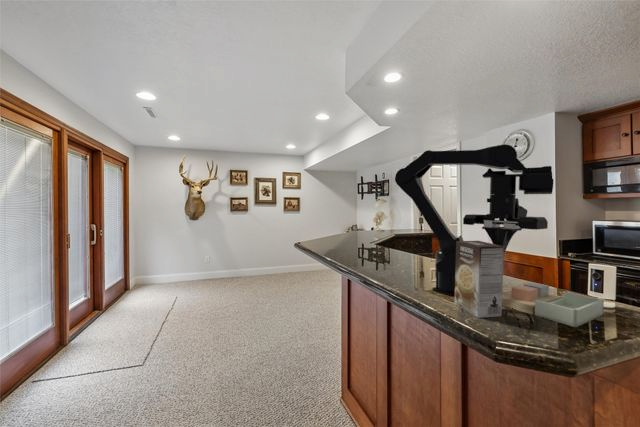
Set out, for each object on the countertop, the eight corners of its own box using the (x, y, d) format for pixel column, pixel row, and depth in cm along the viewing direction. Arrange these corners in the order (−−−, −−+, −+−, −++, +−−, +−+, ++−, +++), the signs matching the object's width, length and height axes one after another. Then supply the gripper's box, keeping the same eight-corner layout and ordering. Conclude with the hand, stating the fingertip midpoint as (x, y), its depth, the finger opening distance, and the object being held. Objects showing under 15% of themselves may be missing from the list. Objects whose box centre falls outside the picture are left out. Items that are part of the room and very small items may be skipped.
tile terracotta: (511, 296, 75) (511, 287, 75) (519, 294, 77) (520, 284, 77) (529, 301, 71) (529, 291, 71) (537, 299, 73) (537, 288, 73)
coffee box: (452, 304, 75) (454, 240, 75) (475, 303, 76) (477, 240, 76) (477, 318, 66) (479, 246, 66) (503, 316, 67) (505, 245, 67)
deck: (493, 303, 76) (493, 295, 76) (522, 294, 83) (522, 287, 83) (532, 314, 69) (533, 306, 68) (561, 304, 76) (561, 296, 75)
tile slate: (523, 293, 78) (523, 284, 78) (531, 291, 80) (531, 282, 80) (540, 298, 74) (540, 288, 74) (548, 295, 76) (548, 285, 76)
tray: (534, 315, 68) (535, 300, 68) (563, 304, 75) (563, 291, 75) (576, 327, 62) (576, 310, 62) (603, 314, 69) (603, 299, 68)
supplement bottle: (459, 281, 97) (460, 244, 96) (437, 280, 98) (437, 244, 98) (454, 276, 103) (455, 241, 103) (433, 275, 105) (434, 241, 104)
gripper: (559, 194, 74) (557, 257, 75) (485, 195, 90) (484, 247, 91) (536, 193, 69) (534, 261, 69) (462, 195, 85) (461, 249, 86)
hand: (500, 254), depth 79 cm, fingers closed
